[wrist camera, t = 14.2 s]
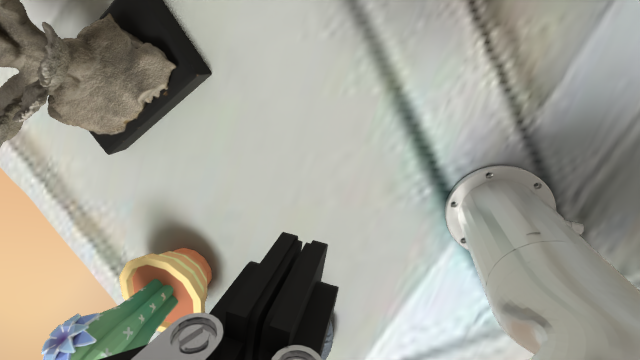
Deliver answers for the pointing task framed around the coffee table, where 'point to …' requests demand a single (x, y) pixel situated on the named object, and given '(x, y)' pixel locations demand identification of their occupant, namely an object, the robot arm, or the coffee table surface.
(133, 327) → the potted cactus
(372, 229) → the coffee table surface
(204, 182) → the coffee table surface
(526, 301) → the robot arm
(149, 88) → the coral
